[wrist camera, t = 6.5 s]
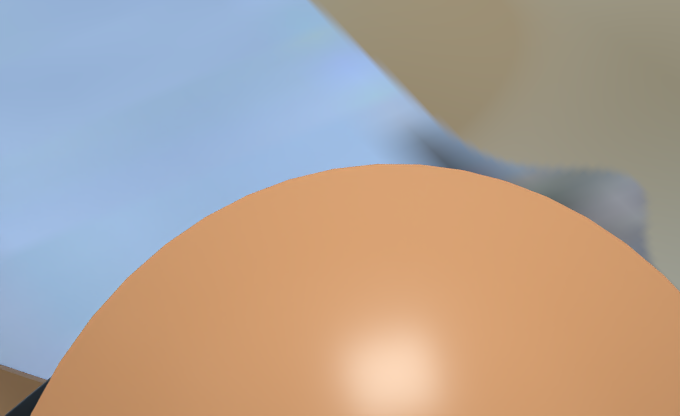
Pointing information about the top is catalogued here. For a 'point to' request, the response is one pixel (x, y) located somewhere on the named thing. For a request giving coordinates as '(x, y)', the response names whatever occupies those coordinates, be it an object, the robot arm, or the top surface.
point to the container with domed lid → (382, 309)
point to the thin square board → (15, 387)
